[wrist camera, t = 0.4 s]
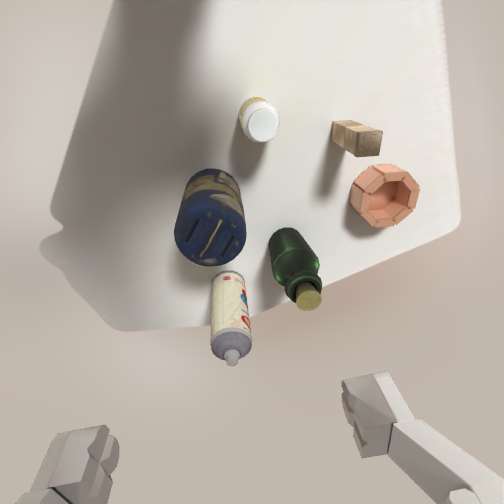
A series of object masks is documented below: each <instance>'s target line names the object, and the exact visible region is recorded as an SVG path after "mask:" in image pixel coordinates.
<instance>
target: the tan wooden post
mask: <svg viewBox="0 0 504 504" xmlns="http://www.w3.org/2000/svg"><path fill="white" fill-rule="evenodd" d="M382 134H383V131H380V130H376V129H373V128H370V127H368V126H365V125H362V124H359V123H357V122H354V121H351V120H349V121H333V125H332V137H331V141H332V142H334V143H335V144H337V145H339V146H340V147H342V148H344V149H345V150H347V151H348V152H350V153H352V154H353V155H354V156H356V157H367V156H379V152H380V146H381V140H382Z"/></svg>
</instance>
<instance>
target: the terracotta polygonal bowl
mask: <svg viewBox="0 0 504 504" xmlns="http://www.w3.org/2000/svg"><path fill="white" fill-rule="evenodd" d="M418 187H419V185H418V184H417V183H416V181H415V180H414V179H413V178H412V176H411V175H410V174H409V173H408V172H406V171H404V170H402V169H400V168H399V167H397V166H395V165H392V164H378V165H372V167H368V168H367V169H366V170H365V171H363V172H362V173H361V174H360V175H359V176H358V178H357V179H356V180H355V181H354V184H352V189H351V193H350V203H351V205H352V206H353V208H354V209H355V210H356V211H357V212H358V213H359V214H360V215H361V216H362V217H363V218H364V219H365V220H366V221H367V222H368V223H369V224H370V225H371V226H372V227H373V226H374V227H375V228H376V227H388V226H394V225H395V224H396V225H397V224H398V223H399V222H401V221H402V220H403V219H404V218H405V217H407V216H408V215H409V214H410V213H411V212H413V209H414V208H415V206H416V202H417V198H418V194H419V190H420V188H418Z"/></svg>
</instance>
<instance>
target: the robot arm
mask: <svg viewBox="0 0 504 504" xmlns="http://www.w3.org/2000/svg"><path fill="white" fill-rule="evenodd" d="M342 388H343V391H344V392H343V393H342V403H343V408H344V411H345V415H346V418H347V420H348V423H349V424H350V425H352V426H353V427H354V436H353V437H354V439H355V442H356V445H357V447H358V450H359V452H360V455H361V457H362V458H366V457H372V456H379V455H385V454H388V456H389V457H390V458H391V459H392V460H393V461H394V462H395V463H396V464H397V465H398V466H399V467H400V468H401V469H402V470H403V471H404V472H405V473H406V474H407V475H408V476H409V477H410V478H411V479H412V480H413V481H415V483H416V484H417V485H418V486H419V487H420V488H421V489H422V490H423V491H424V492H425V493H426V494H427V495H428V496H429V497H430V498H431V499H433V501H435V502H436V503H437V504H504V479H503V478H501V477H500V476H498V475H497V474H496V473H494V472H493V471H491V470H490V469H489V468H487V467H486V466H485V465H483V464H482V463H480V462H479V461H478V460H476V459H475V458H473V457H472V456H471V455H469V454H468V453H467V452H465V451H464V450H462V449H461V448H459V447H458V446H457V445H455V444H454V443H453V442H451V441H450V440H449V439H447V438H446V437H444V436H443V435H442V434H440V433H439V432H437V431H436V430H435V429H433V428H432V427H430V426H429V425H428V424H426V423H425V422H424V421H422V420H421V419H415V418H414V417H413V415H412V413H411V411H410V410H409V408H408V406H407V404H406V403H405V401H404V399H403V397H402V396H401V394H400V392H399V390H398V389H397V387H396V385H395V383H394V382H393V380H392V379H391V376H390V375H389V374H388V373H387V372H380V373H375V374H369V375H364V376H359V377H354V378H349V379H345V380H342ZM108 433H109V429H108V428H107V426H106V425H102V426H97V427H91V428H85V429H80V430H73V431H68V432H63V433H58V434H57V435H56V436H55V438H54V439H53V441H52V443H51V445H50V447H49V449H48V452H47V454H46V456H45V458H44V461H43V463H42V465H41V467H40V470H39V472H38V474H37V476H36V479H35V481H34V483H33V485H32V487H31V489H30V492H27V493H24V495H22V497H21V498H20V499H19V500H18V501H17V502H16V503H15V504H107V502H108V499H109V495H110V491H111V487H112V483H113V482H112V479H111V476H110V474H111V473H112V472H113V471H114V469H115V468H116V467H117V462H118V459H119V444H118V441H117V439H116V438H115V437H114V436H111V435H109V434H108Z"/></svg>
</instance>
